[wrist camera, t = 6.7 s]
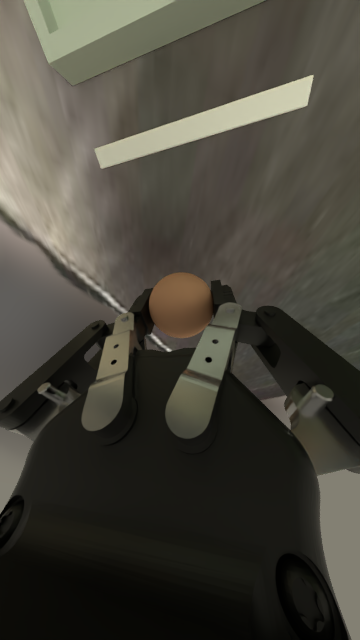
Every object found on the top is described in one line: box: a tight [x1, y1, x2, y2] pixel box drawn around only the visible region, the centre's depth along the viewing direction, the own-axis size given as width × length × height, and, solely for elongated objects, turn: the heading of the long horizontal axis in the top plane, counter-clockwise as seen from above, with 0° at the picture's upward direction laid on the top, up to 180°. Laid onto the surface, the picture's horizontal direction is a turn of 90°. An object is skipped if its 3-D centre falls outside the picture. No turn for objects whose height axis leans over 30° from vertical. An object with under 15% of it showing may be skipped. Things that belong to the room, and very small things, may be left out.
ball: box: [149, 272, 214, 338], centre depth 11 cm, size 5×5×5 cm
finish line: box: [94, 75, 314, 169], centre depth 15 cm, size 22×2×1 cm, turn 100°
